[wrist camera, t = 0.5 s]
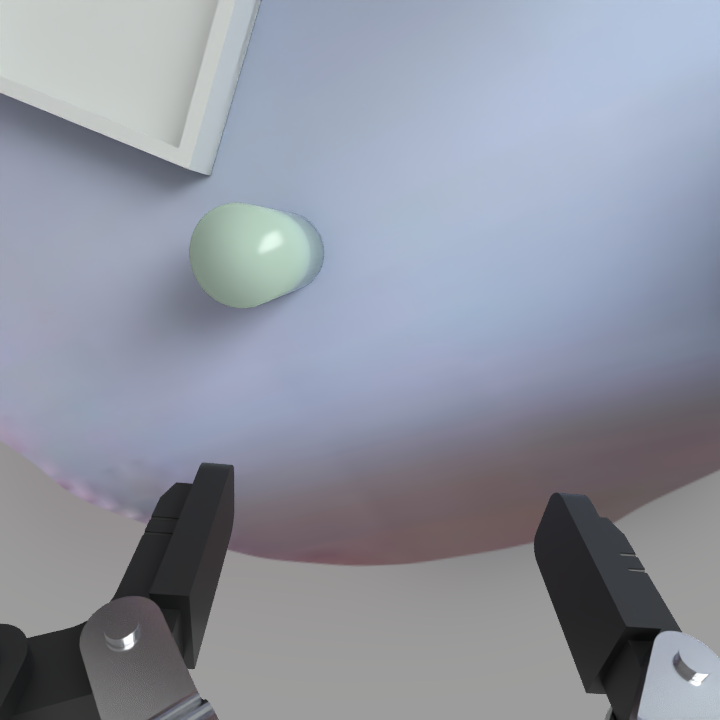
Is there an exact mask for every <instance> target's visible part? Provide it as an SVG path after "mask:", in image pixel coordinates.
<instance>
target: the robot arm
mask: <svg viewBox="0 0 720 720" xmlns="http://www.w3.org/2000/svg"><path fill="white" fill-rule="evenodd" d="M233 519H234V467H233V465H226V464H214V463H202V464H201V465H200V467H199V470H198V472H197V475H196V477H195V480H194V482H193V484H188V483H175V484H174V485H173V486H172V487H171V488H170V489H169V490H168V491H167V492H166V493H165V494H164V495H162V496H161V497H160V499H159V501H158V503H157V506H156V508H155V510H154V512H153V514H152V518H151V520H150V521H149V523H148V525H147V527H146V529H145V533H144V535H143V536H142V538H141V540H140V542H139V545H138V547H137V549H136V551H135V553H134V555H133V557H132V560H131V562H130V564H129V566H128V568H127V570H126V573H125V575H124V577H123V579H122V581H121V583H120V585H119V587H118V590H117V592H116V593H115V595H114V597H113V599H112V600H111V601H110V602H109V603H107V604H105V605H104V606H102V607H101V608H100V609H98V610H97V611H96V612H95V613H94V614H93V615H92V616H91V617H90V618H89V620H88V621H86V622H84V623H82V624H80V625H77V626H75V627H71V628H68V629H64V630H60V631H56V632H51V633H47V634H43V635H39V636H34V637H31V638H26V636H25V634H24V633H23V632H22V631H21V630H20V629H19V628H17V627H15V626H12V625H9V624H0V720H219V719H218V717H217V715H216V713H215V711H214V710H213V708H212V706H211V705H210V703H209V702H208V701H207V700H206V699H205V700H203V699H202V698H201V697H200V695H199V693H198V691H197V689H196V687H195V685H194V682H193V680H192V678H191V676H190V674H189V671H188V669H195V666H196V662H197V658H198V655H199V651H200V647H201V644H202V640H203V636H204V633H205V629H206V625H207V621H208V618H209V614H210V610H211V607H212V603H213V599H214V596H215V591H216V588H217V585H218V581H219V577H220V573H221V569H222V566H223V562H224V558H225V555H226V551H227V548H228V544H229V540H230V536H231V532H232V527H233ZM534 552H535V557H536V561H537V564H538V566H539V569H540V572H541V574H542V577H543V579H544V582H545V585H546V587H547V590H548V593H549V595H550V598H551V601H552V603H553V606H554V609H555V611H556V614H557V617H558V619H559V622H560V624H561V627H562V630H563V632H564V635H565V638H566V640H567V643H568V646H569V648H570V651H571V654H572V656H573V659H574V662H575V664H576V667H577V670H578V672H579V675H580V678H581V680H582V683H583V686H584V688H585V691H586V693H596V694H607V697H608V699H609V702H610V704H611V707H610V708H609V710H608V711H607V714H606V717H605V720H720V659H719V658H718V657H717V655H716V654H715V653H714V652H713V651H712V650H710V649H709V648H708V647H707V646H706V645H704V644H703V643H702V642H700V641H698V640H697V639H695V638H693V637H691V636H689V635H686V634H684V633H682V631H681V630H680V628H679V626H678V625H677V623H676V621H675V619H674V618H673V616H672V614H671V613H670V611H669V609H668V608H667V606H666V604H665V603H664V601H663V599H662V598H661V596H660V594H659V592H658V591H657V589H656V587H655V586H654V584H653V582H652V581H651V579H650V577H649V576H648V574H647V573H645V571H644V570H645V569H644V567H643V565H642V564H641V562H640V560H639V559H638V558H637V557H636V556H635V552H634V550H633V548H632V547H631V545H630V544H629V542H628V540H627V538H626V537H625V535H624V534H623V533H622V532H621V531H620V530H619V529H618V528H617V527H616V526H615V525H614V524H613V523H612V522H611V521H610V520H608V519H607V518H602V517H599V515H598V513H597V511H596V510H595V508H594V506H593V504H592V503H591V501H590V499H589V498H588V497H587V496H585V495H578V494H566V493H554V494H553V495H552V496H551V497H550V500H549V502H548V505H547V507H546V510H545V512H544V514H543V517H542V519H541V522H540V524H539V527H538V529H537V532H536V535H535V540H534Z"/></svg>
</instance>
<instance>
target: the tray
mask: <svg viewBox="0 0 720 720" xmlns="http://www.w3.org/2000/svg"><path fill="white" fill-rule="evenodd" d="M260 3H261V0H0V93H2V94H5V95H7V96H10V97H12V98H15V99H17V100H19V101H22V102H24V103H27V104H29V105H32V106H34V107H37V108H39V109H42V110H44V111H46V112H49V113H51V114H54V115H56V116H59V117H61V118H64V119H66V120H69V121H71V122H73V123H76V124H78V125H81V126H83V127H86V128H88V129H91V130H93V131H96V132H98V133H101V134H103V135H105V136H108V137H110V138H113V139H115V140H118V141H120V142H123V143H125V144H128V145H130V146H132V147H135V148H137V149H140V150H142V151H145V152H147V153H150V154H152V155H155V156H157V157H159V158H162V159H164V160H167V161H169V162H172V163H174V164H177V165H179V166H182V167H184V168H187V169H189V170H192V171H196V172H199V173H202V174H206V175H209V176H210V175H211V172H212V168H213V165H214V161H215V158H216V155H217V151H218V148H219V144H220V141H221V137H222V134H223V130H224V127H225V124H226V120H227V117H228V113H229V110H230V106H231V103H232V99H233V96H234V93H235V89H236V86H237V82H238V79H239V75H240V72H241V68H242V65H243V62H244V58H245V55H246V51H247V48H248V44H249V41H250V37H251V34H252V31H253V27H254V24H255V20H256V17H257V13H258V10H259V6H260Z"/></svg>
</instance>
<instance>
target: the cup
mask: <svg viewBox="0 0 720 720" xmlns="http://www.w3.org/2000/svg"><path fill="white" fill-rule="evenodd" d="M189 255H190V263H191V267H192V271H193V273H194V276H195V278H196V280H197V281H198V283H199V285H200V286H201V287H202V289H203V290H204V291H205V292H206V293H207V294H208V295H209V296H210V297H212V298H213V299H215V300H216V301H218V302H220V303H222V304H224V305H227V306H230V307H235V308H250V307H255V306H258V305H261V304H263V303H266V302H268V301H271V300H273V299H275V298H278V297H280V296H283V295H285V294H288V293H290V292H293V291H295V290H298V289H300V288H303V287H304V286H306V285H308V284H309V283H311V282H312V281H313V280H314V279H315V277H316V276H317V275H318V273H319V272H320V269H321V267H322V264H323V260H324V246H323V241H322V239H321V236H320V234H319V232H318V231H317V229H316V228H315V226H314V225H313V224H312V223H311V222H310V221H308V220H307V219H306V218H304V217H302V216H300V215H297V214H294V213H289V212H284V211H280V210H275V209H270V208H265V207H260V206H255V205H250V204H245V203H228V204H224V205H221V206H218V207H216V208H214V209H212V210H211V211H209V212H208V213H207V214H206V215H204V217H203V218H202V219H201V220H200V221H199V223H198V224H197V226H196V227H195V229H194V232H193V234H192V237H191V241H190V249H189Z"/></svg>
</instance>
